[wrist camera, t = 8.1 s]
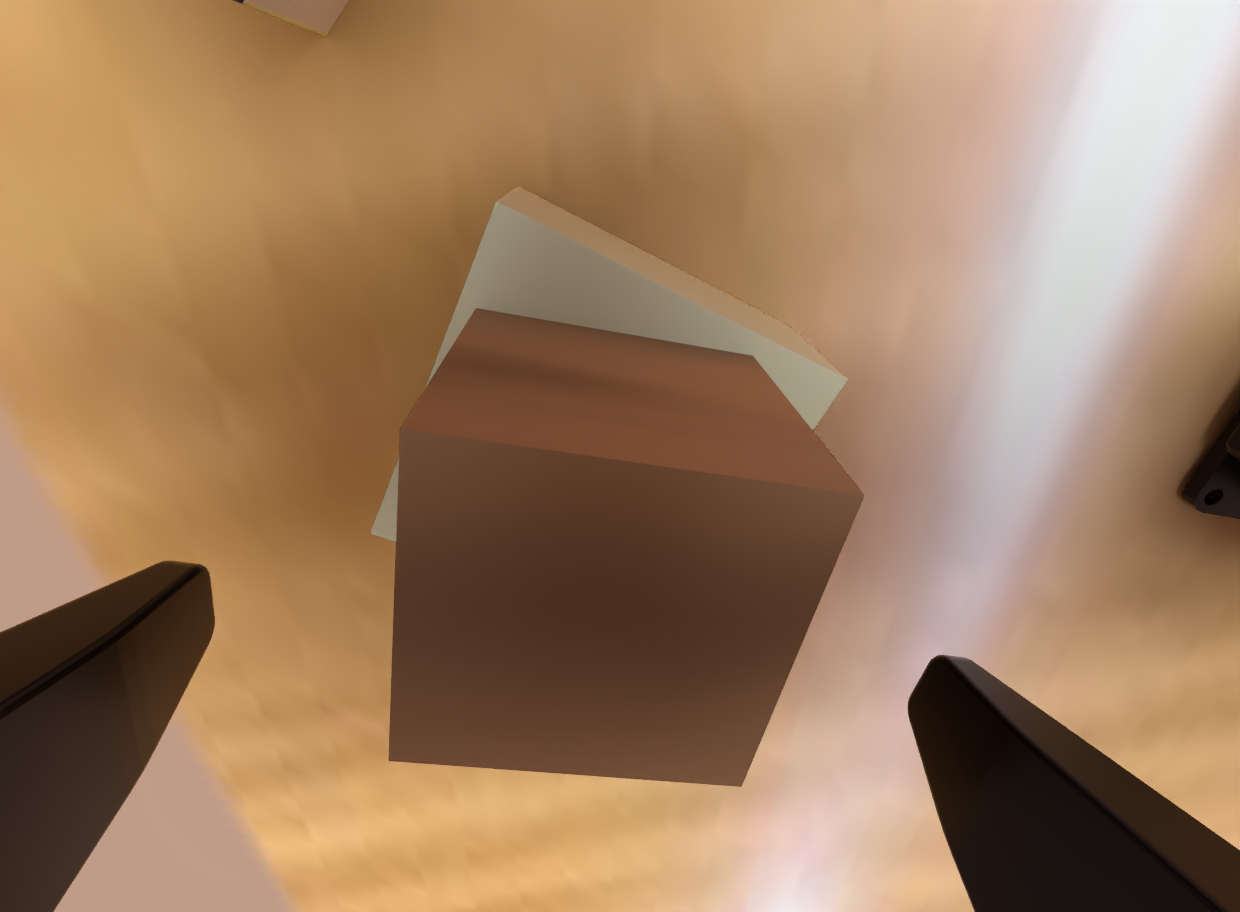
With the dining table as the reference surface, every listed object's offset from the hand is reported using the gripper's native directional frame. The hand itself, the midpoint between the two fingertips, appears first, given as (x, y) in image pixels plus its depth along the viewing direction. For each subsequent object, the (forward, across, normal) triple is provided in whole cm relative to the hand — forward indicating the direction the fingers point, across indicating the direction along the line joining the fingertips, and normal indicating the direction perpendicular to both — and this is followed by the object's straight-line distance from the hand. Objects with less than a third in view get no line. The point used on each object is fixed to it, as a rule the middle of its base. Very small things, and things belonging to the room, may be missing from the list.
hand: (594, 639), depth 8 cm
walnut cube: (+5, 0, 0) cm, 5 cm away
